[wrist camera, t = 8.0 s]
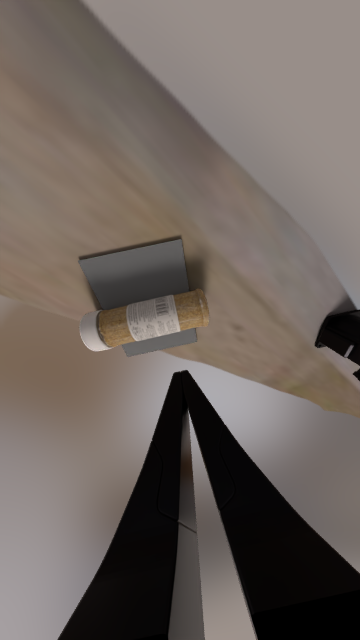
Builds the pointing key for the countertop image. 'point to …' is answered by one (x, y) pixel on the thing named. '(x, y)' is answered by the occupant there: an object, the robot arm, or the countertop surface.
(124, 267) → the mat
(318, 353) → the countertop surface
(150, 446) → the robot arm
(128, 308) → the sprinkles bottle
